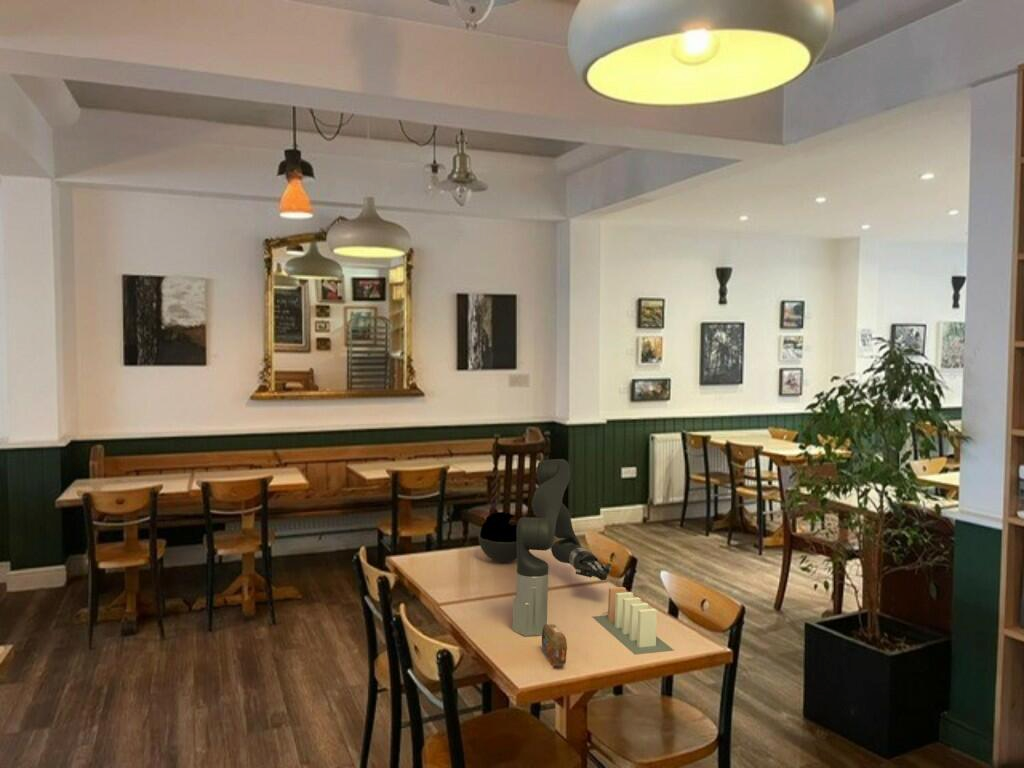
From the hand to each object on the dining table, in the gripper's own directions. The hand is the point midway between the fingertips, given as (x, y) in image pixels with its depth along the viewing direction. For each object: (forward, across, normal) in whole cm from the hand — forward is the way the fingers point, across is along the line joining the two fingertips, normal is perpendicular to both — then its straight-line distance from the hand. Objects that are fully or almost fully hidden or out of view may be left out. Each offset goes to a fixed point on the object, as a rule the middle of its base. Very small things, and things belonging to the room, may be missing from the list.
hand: (604, 577), depth 241 cm
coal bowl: (-61, -15, +12) cm, 64 cm away
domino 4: (+26, 0, +10) cm, 27 cm away
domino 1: (+10, 0, +10) cm, 15 cm away
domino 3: (+20, 0, +10) cm, 23 cm away
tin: (+32, -28, +10) cm, 44 cm away
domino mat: (+20, 0, +10) cm, 23 cm away
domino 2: (+16, 0, +10) cm, 19 cm away
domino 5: (+30, 0, +10) cm, 32 cm away
